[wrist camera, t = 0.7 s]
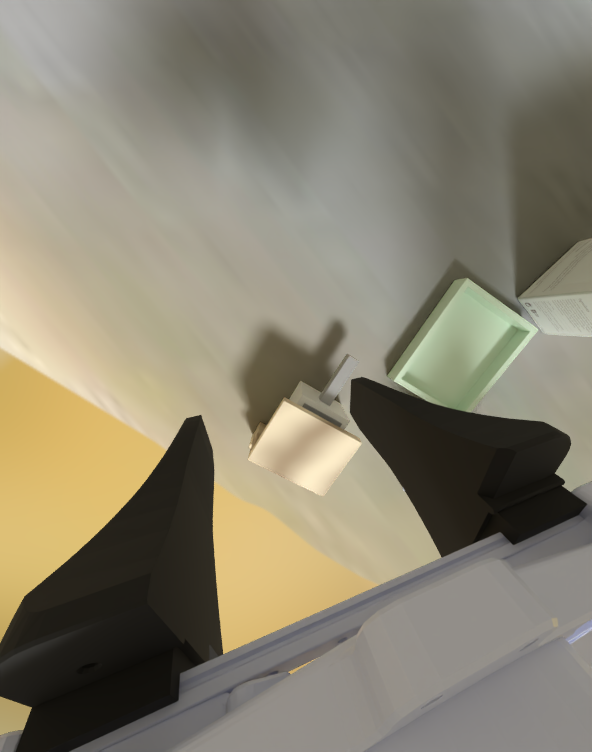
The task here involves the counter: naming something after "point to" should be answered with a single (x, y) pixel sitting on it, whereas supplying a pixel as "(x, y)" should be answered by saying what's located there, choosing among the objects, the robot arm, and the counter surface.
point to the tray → (462, 348)
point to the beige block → (302, 447)
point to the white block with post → (327, 395)
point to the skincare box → (564, 294)
